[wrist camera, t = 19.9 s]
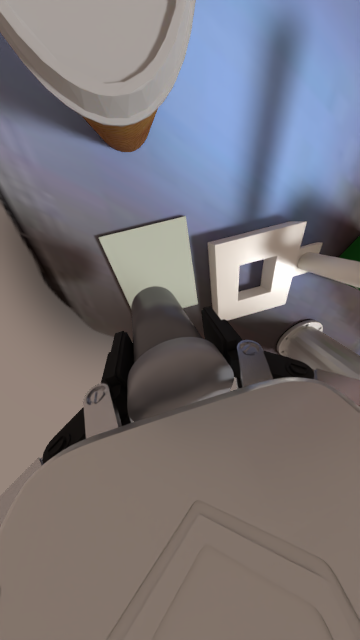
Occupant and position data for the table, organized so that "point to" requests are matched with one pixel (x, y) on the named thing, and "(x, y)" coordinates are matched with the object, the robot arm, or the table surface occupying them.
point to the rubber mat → (153, 259)
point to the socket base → (269, 268)
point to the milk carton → (352, 254)
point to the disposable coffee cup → (103, 57)
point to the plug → (170, 358)
